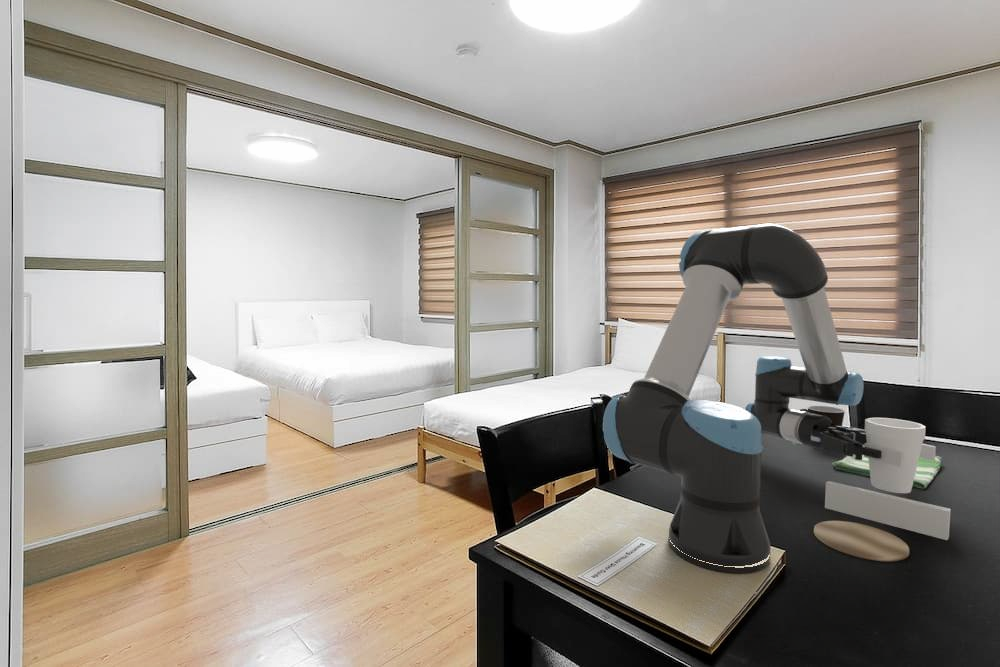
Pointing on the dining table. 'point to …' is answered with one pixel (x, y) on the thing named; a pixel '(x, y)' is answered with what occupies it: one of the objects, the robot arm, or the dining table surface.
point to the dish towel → (922, 475)
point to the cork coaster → (861, 541)
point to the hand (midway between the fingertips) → (918, 456)
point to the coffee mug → (828, 413)
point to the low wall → (889, 509)
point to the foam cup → (897, 438)
